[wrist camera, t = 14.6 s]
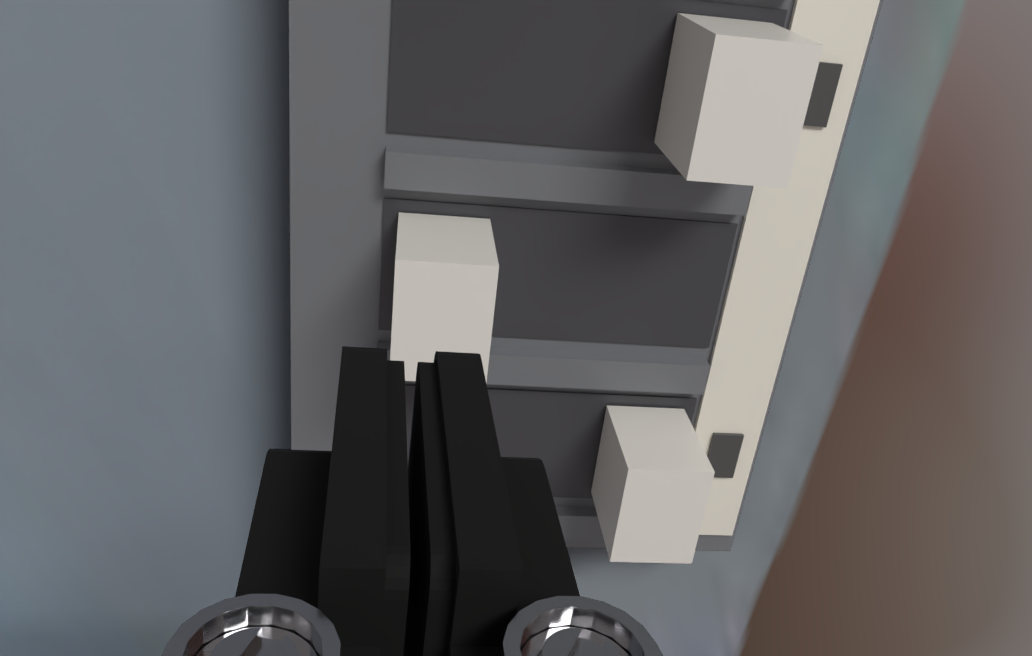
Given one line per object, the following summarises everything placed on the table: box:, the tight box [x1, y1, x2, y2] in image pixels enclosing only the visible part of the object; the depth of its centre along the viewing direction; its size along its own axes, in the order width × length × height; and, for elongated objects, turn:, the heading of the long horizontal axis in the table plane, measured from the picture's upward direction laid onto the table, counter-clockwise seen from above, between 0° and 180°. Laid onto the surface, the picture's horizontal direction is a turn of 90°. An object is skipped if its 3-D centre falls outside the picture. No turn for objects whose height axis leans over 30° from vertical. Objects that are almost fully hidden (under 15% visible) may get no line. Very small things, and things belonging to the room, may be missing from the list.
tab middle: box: [390, 212, 499, 383], centre depth 28 cm, size 4×3×4 cm
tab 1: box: [591, 405, 715, 563], centre depth 32 cm, size 4×3×4 cm
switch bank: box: [289, 0, 883, 551], centre depth 32 cm, size 24×18×4 cm
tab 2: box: [654, 13, 824, 188], centre depth 26 cm, size 4×3×4 cm
